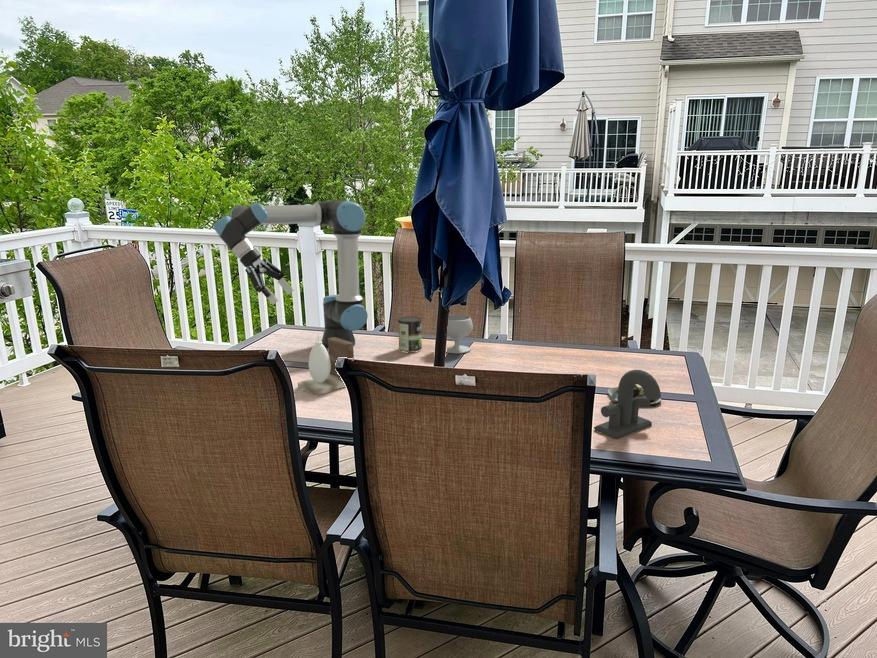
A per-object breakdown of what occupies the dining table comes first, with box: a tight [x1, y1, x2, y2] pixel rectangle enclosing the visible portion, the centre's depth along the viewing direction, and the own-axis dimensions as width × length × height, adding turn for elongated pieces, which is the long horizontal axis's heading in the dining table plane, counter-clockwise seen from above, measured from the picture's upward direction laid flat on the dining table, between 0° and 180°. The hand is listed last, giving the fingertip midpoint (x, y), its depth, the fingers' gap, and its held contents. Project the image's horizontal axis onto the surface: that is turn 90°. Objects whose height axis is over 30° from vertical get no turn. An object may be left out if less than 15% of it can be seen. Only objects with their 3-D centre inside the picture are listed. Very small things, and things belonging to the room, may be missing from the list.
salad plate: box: [607, 384, 662, 408], centre depth 215 cm, size 19×18×5 cm
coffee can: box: [397, 315, 423, 353], centre depth 271 cm, size 10×10×14 cm
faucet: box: [593, 369, 662, 440], centre depth 185 cm, size 18×16×20 cm
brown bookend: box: [297, 337, 355, 396], centre depth 226 cm, size 17×12×16 cm
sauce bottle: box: [308, 335, 331, 383], centre depth 224 cm, size 8×8×18 cm
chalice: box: [446, 313, 474, 355], centre depth 269 cm, size 14×14×15 cm
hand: (283, 297), depth 236 cm, fingers open, 13 cm apart
